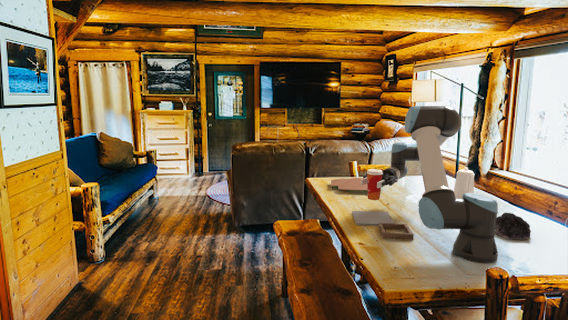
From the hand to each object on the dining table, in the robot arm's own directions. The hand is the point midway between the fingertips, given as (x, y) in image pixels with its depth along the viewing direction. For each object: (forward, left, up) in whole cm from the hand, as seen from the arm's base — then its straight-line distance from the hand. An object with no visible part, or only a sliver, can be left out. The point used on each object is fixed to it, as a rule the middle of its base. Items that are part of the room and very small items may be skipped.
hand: (369, 183), depth 167 cm
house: (+59, -1, -19) cm, 62 cm away
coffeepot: (+43, -61, -19) cm, 77 cm away
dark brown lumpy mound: (-11, -60, -19) cm, 64 cm away
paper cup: (+4, -3, -9) cm, 10 cm away
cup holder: (-14, -10, -19) cm, 25 cm away
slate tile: (+4, -3, -19) cm, 19 cm away
